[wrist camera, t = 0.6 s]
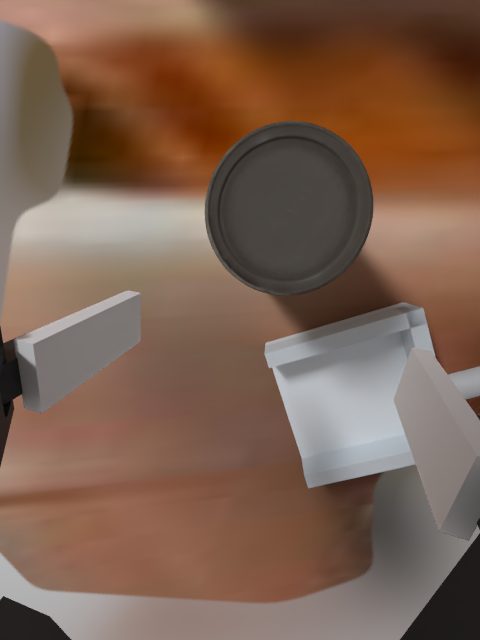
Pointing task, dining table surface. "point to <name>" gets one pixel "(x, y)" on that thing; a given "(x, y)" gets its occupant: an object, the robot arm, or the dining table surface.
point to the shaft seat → (353, 391)
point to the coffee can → (288, 208)
